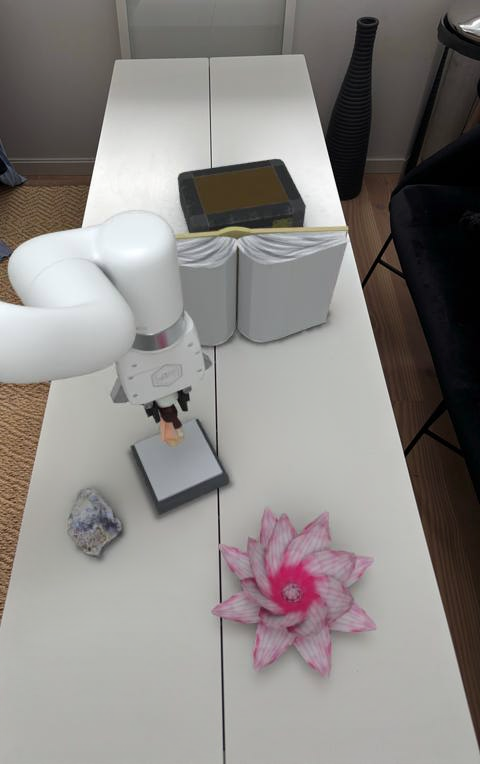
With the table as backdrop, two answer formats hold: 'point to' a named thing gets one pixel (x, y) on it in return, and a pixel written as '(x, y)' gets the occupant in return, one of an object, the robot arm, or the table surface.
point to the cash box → (241, 197)
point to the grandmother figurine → (169, 420)
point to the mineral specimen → (92, 522)
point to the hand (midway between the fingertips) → (168, 408)
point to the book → (259, 280)
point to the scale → (179, 467)
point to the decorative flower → (295, 590)
